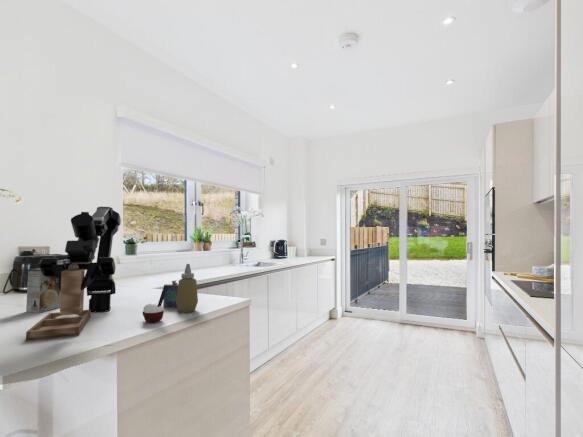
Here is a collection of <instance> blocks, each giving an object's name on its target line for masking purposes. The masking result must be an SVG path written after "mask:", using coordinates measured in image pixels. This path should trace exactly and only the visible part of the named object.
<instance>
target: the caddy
mask: <svg viewBox="0 0 583 437" xmlns="http://www.w3.org/2000/svg"><path fill="white" fill-rule="evenodd" d="M91 316H92V313H91V310H89V309H83V310H82V311H81V312H80V313H78V314H66V315H60V311H58V312H57V311H56V312H49V313H47V314H46V315H44V317H43V318H41V319H40V320H39V321H37V323H35V324H34V325H33V326H31V327H30V328H29V329H28V330H27V331H26V332H25V342H31V341H41V340H49V339H59V338H60V339H61V338H66V337H76V336H80V334H81V332H83V330H84V327H85V326H86V325H87V323H88V322H89V321H90V318H91Z"/></svg>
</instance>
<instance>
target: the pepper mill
mask: <svg viewBox="0 0 583 437" xmlns="http://www.w3.org/2000/svg"><path fill="white" fill-rule="evenodd" d="M85 271H86V270H85V269H79V266H78V265H77V264H70V265H69V267H68V269H67V270H64V271H61V297H60V308H59V312H60V315H66V314H78V313H80V312H81V311H82V310H84V301H85V300H84V299H85V296H84V295H85V289H84V290H81V285H82V282H83V279H84V277H85V274H86V272H85Z"/></svg>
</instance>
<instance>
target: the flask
mask: <svg viewBox="0 0 583 437" xmlns="http://www.w3.org/2000/svg"><path fill="white" fill-rule="evenodd" d="M178 284H179V282H177V280H172V281H171V283H169V284H168V283H167V284H164V285H163V287H164V286H168V287H167V290H166V293H165V296H164V299H163V302H162V306H163V307H164V308H170V307H175V308H174V309H178V307H177V304H176V299H177V291H178Z"/></svg>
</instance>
